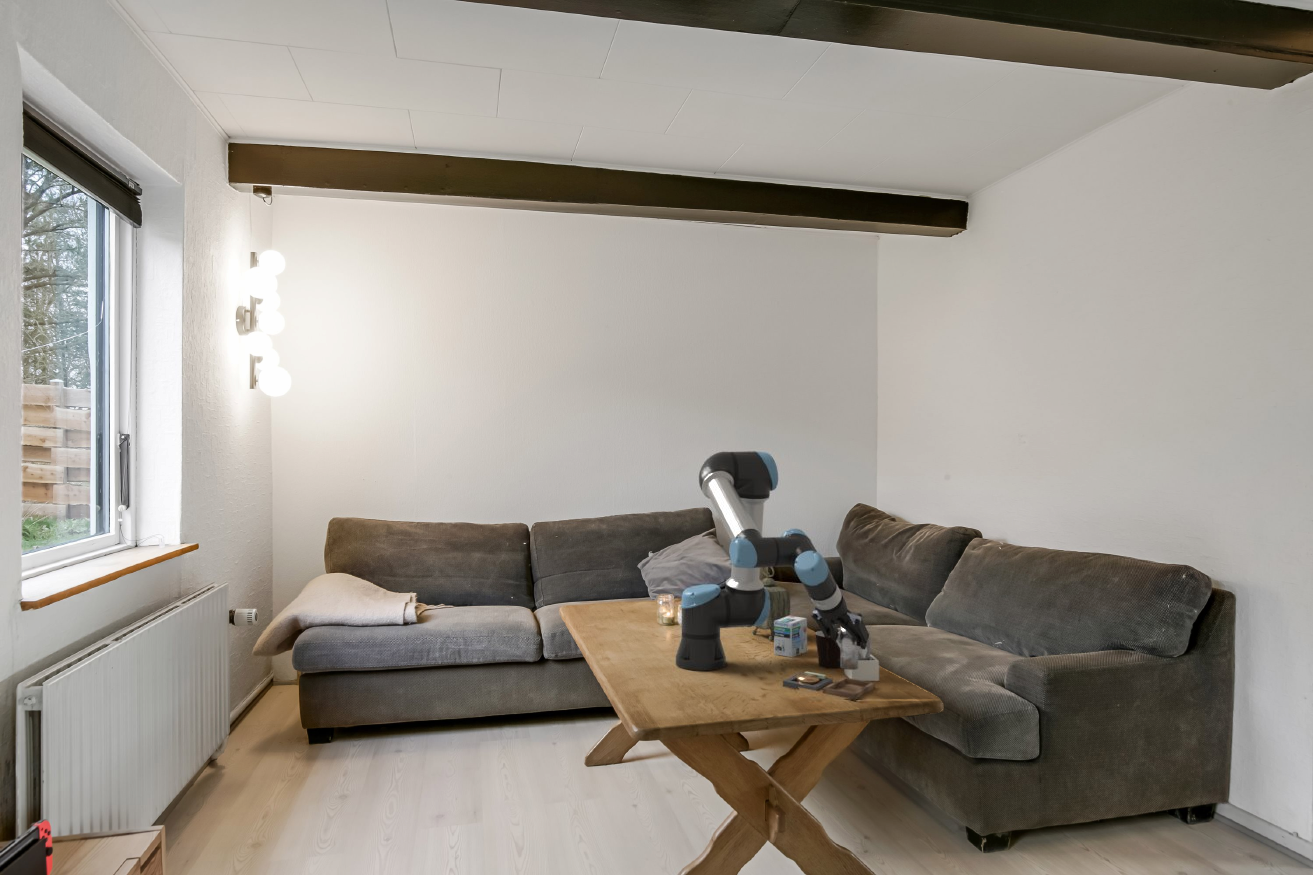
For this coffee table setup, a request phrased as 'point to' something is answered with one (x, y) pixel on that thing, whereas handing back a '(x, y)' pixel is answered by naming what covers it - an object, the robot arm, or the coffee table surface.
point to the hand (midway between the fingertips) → (855, 652)
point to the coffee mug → (827, 651)
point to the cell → (848, 651)
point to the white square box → (865, 670)
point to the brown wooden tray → (849, 688)
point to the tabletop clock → (774, 604)
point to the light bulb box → (790, 636)
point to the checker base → (793, 683)
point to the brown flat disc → (808, 679)
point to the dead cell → (866, 653)
